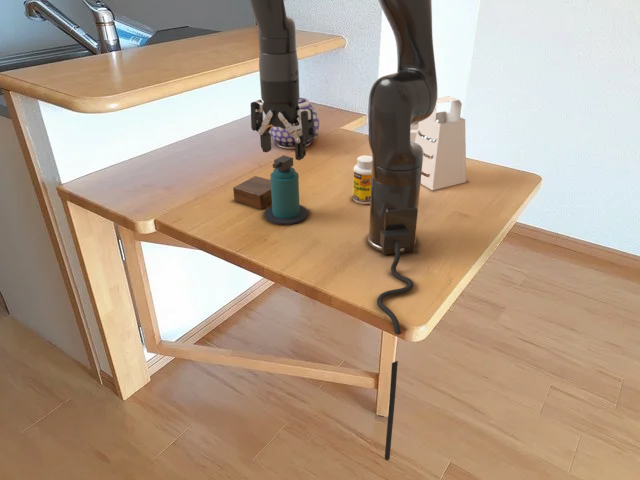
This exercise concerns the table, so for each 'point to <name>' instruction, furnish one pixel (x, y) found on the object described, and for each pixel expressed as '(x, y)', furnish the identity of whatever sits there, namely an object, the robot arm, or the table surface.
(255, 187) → the walnut block
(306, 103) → the teapot
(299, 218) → the coaster
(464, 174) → the grater
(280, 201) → the spray bottle
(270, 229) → the table surface
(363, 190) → the supplement bottle
